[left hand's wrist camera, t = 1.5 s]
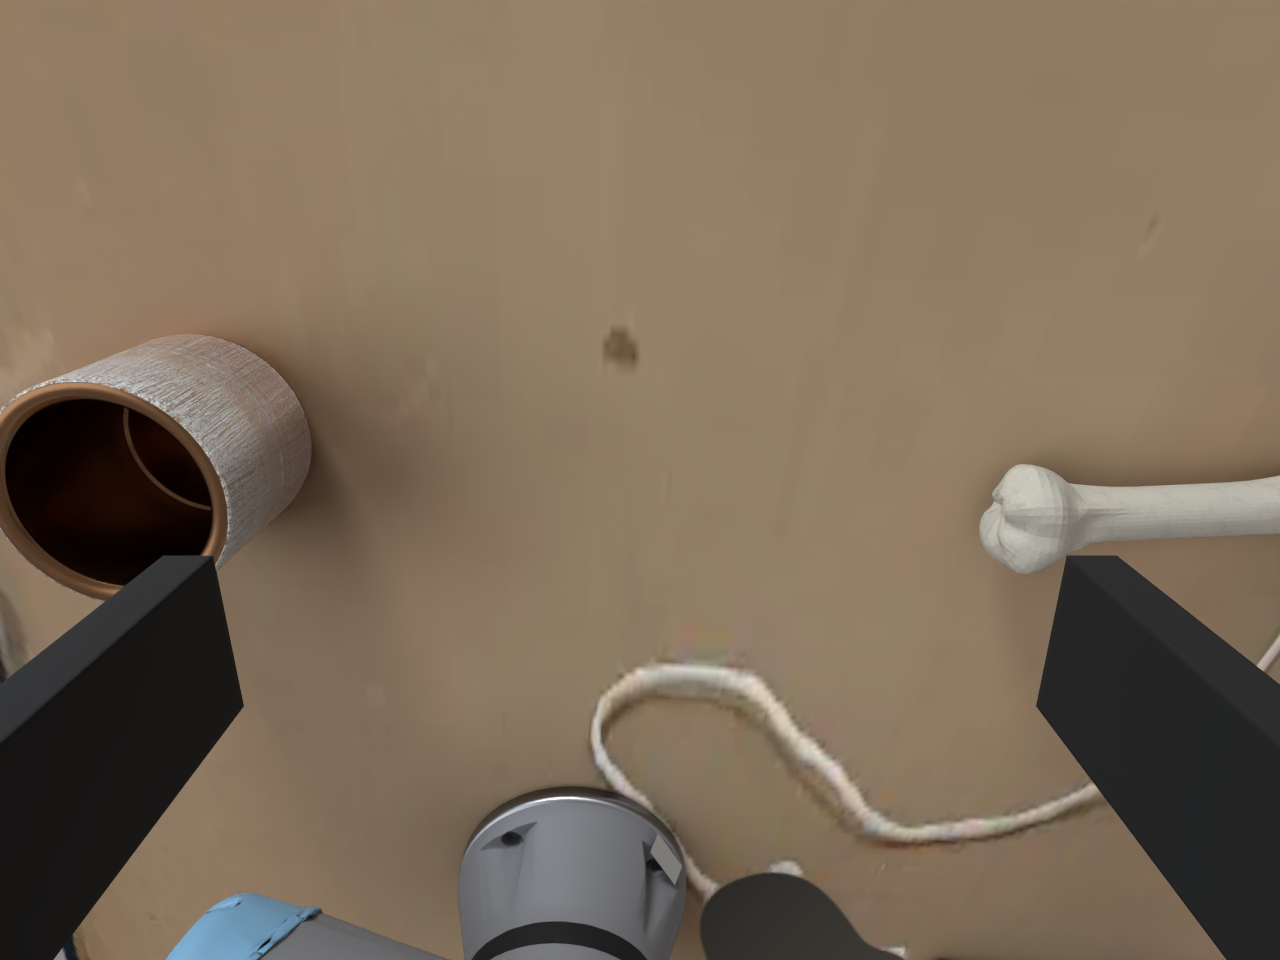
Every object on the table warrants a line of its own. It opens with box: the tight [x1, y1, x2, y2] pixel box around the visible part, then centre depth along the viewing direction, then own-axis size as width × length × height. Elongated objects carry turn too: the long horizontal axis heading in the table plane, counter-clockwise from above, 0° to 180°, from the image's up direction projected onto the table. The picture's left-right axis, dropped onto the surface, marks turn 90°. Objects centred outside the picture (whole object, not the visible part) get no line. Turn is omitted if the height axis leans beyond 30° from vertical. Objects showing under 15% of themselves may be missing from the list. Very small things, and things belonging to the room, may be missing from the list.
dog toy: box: [979, 464, 1280, 574], centre depth 42 cm, size 20×6×5 cm, turn 92°
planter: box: [0, 334, 312, 602], centre depth 39 cm, size 11×11×10 cm
